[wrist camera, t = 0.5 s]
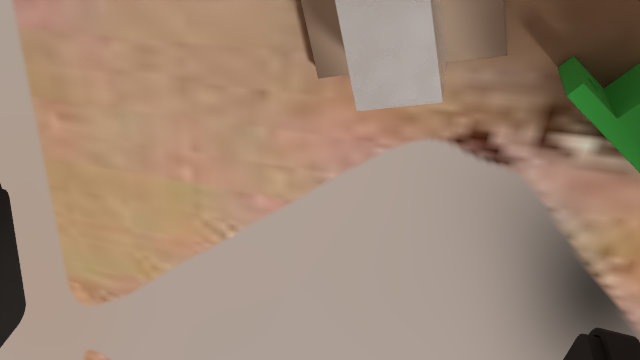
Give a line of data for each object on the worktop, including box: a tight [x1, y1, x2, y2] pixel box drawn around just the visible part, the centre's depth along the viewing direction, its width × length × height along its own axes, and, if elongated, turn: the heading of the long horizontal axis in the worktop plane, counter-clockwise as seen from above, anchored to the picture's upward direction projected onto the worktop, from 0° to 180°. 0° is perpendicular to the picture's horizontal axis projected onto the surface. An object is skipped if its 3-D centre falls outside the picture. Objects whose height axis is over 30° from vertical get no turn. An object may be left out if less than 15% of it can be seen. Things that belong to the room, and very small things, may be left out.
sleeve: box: [335, 0, 447, 111], centre depth 35 cm, size 5×7×6 cm
